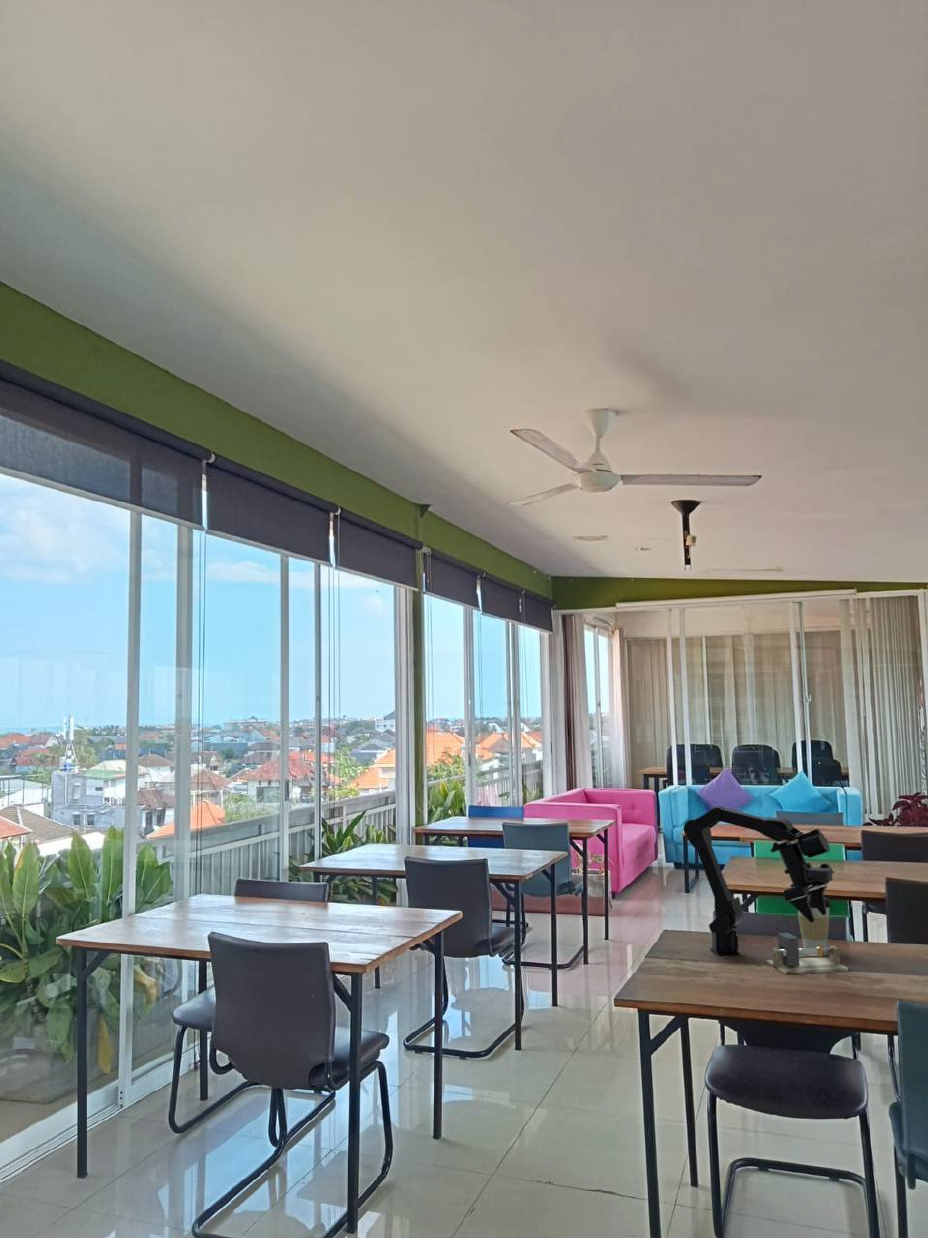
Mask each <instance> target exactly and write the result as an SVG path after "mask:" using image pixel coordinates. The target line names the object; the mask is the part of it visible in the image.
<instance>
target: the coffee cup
mask: <svg viewBox="0 0 928 1238" xmlns="http://www.w3.org/2000/svg"><path fill="white" fill-rule="evenodd" d="M824 900H825V907H826V915H822V914H821V913H820V911H819V910H818V909H817V908H816V906H815V905H814V904H813V902H812V901H811V900H809V903H810V907H811V910H812V913H813V917H814V922H810V921H809V920H808V919H807V918H806V917H805V916H804V915H803V914H802V913H801V912H800V911H799V910H797V912H798V913H797V916H798V923H799V929H800V936H801V938H802V939H801V940H802V944H803V948H816V947H828V938H829V924H830V907H832V905H831V902H830V900H829V898H828V897H826V896H824Z"/></svg>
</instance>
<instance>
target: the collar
mask: <svg viewBox="0 0 928 1238" xmlns="http://www.w3.org/2000/svg"><path fill="white" fill-rule="evenodd" d="M799 946H800V945H799V938H798V937H797V936H795V935H793V934H791V933H789V932H778V933H777V948H778V949H786V957H782V961H783V963H784V964H786V965H787V966H789V967H791V966H800V965H799V958H800V956H799V948H800V947H799Z"/></svg>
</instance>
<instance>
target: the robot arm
mask: <svg viewBox="0 0 928 1238" xmlns="http://www.w3.org/2000/svg"><path fill="white" fill-rule="evenodd" d="M720 822H722V823H726V824H730V825H734V826H737V827H740V828H745V829H748V830H752V831H756V832H758V833H760V834H762V835H763V836H764V837H767V838H769V839H772V840H773V841H775V842H773V843H772V848H771V849H770V852H771V853H774V852H777V851H778V853H779V856H780V857H781V859H782V862H783V865H784V867H785V870H784V873H785V875H788V876H789V879H790V881H791V883H792V884H790V885H789V887H788V888H786V889H784V890H783V893H782V896H783V898H784V901H785V902H788V903H789V904H791V905H792V906H793V907H794V908H795V909H796V910H797V911H798V910H799V911H800V912H801V913H802V914H803V915H804V916H805V917H806V918H807V919H808V920H809V921H810V922H814V917H813V913H812V910H811V907H810V903H809V900H811V901H812V902H813V904H814V905H815V906H816V908H817V909H818V910H819V911H820V913H821V914H822V915H826V907H825V900H824V897H825V892H826V890H827V888H828V884H829V883H830V882H831V881H833V880H834V879H833V875H834V873H835V872H834V870H833V868H832V867H831V866H830V864H829V863H828V862H827V863H826V862H822V863H821V864H820V866H817V867H815V866H814V867H813V866H812V864H811V862H806V859H805V857H807V858H809V859H811V858H814V857H817V856H821V855H823V854H826V853H827V854H828V853H829V852H831V850H830V849H831V848H830V845H829V842H828V839H827V838H826V836H825V835H824V834H823V833H822V831H821V830H820V828H816V829H813V830H811V831H809V832H806V833H804V832H802V831H800V830H799V829H797V828H796V827H794V826H793V824H792V822H791V821H790V820H789V819H787V818H781V817H780V818H779V817H763V816H757V815H754V814H749V813H745V812H742V811H739V810H734V809H730V808H726V807H724V806H721V805H720V806H716V807H715V806H714V807H712V808H711V809H710V810H708V811H707V812H706V813H704V814H702V815H700V816H699V817H696V818H693V819H689V820H687V821H686V822H685V823H684V826H683V833H684V835H685V836H686V838H687V840H688V842H689V844H690V845H691V846H692V847H693V848H694V849H695V850H696V852H697V854H698V858H699V860H700V862H701V865H702V869H703V870H704V874H705V876H706V879H707V881H708V884H709V888H710V890H711V892H712V895H713V897H714V913H715V919H714V920H713V921H711V922H710V923H709V924H708V929H709V931H710V932H711V943H712V944H711V945H712V947H710V951H712V952H713V953H715V954H716V955H718V956H727V955H739V954H740V951H739V937H738V935H737V931H736V929H737V928H738V926H739V924H741V922H742V921H743V919H744V911H745V909H744V908H743V906H742V903H741V899H740V897H739V896H737V897H734V896H733V895H732V894H731V892H730V890H729V888H728V886H727V883H726V880H725V877H724V874H723V872H722V869H721V867H720V864H719V862H718V859H717V856H716V854H715V850H714V848H713V846H712V845H713V843H712V842H713V835H712V831H711V829H712V828H713V827H715V826H716V825H717V824H719V823H720ZM782 841H783V842H782ZM793 841H796V842H793ZM780 842H781V843H780ZM792 842H793V843H792Z"/></svg>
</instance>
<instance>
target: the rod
mask: <svg viewBox="0 0 928 1238" xmlns="http://www.w3.org/2000/svg"><path fill="white" fill-rule="evenodd" d="M780 950H781V951H782V957H786V949H780ZM774 952H775V953H774ZM833 954H834V951H833V948H832V947H829V946H827V947H816V948H804V947H802V948H800V947H799V957H809V956H810V957H811V956H812V957H813V956H814V957H815V956H816V957H817V956H818V957H822V956H823V957H824V956H829V955H833ZM773 955H774V957H776V955H777V954H776V951H775V950H773ZM773 955H772V956H773Z"/></svg>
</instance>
